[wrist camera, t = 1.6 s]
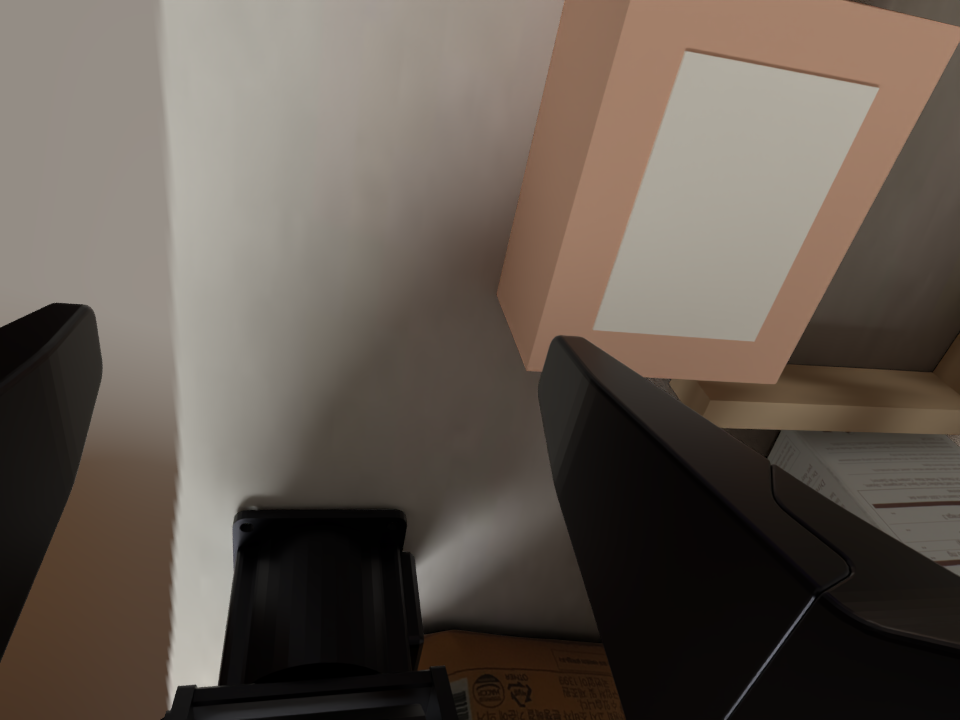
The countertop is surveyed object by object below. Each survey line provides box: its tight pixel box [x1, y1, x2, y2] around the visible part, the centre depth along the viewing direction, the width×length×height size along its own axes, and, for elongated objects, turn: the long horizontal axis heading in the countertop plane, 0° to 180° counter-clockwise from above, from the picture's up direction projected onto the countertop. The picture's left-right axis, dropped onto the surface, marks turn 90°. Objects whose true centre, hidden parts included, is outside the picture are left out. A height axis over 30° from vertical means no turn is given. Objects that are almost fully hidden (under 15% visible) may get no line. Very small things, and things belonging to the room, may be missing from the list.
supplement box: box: [767, 430, 960, 576], centre depth 25 cm, size 7×7×13 cm
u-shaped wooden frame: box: [669, 333, 960, 435], centre depth 22 cm, size 13×16×2 cm
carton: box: [496, 0, 960, 384], centre depth 19 cm, size 8×10×5 cm
